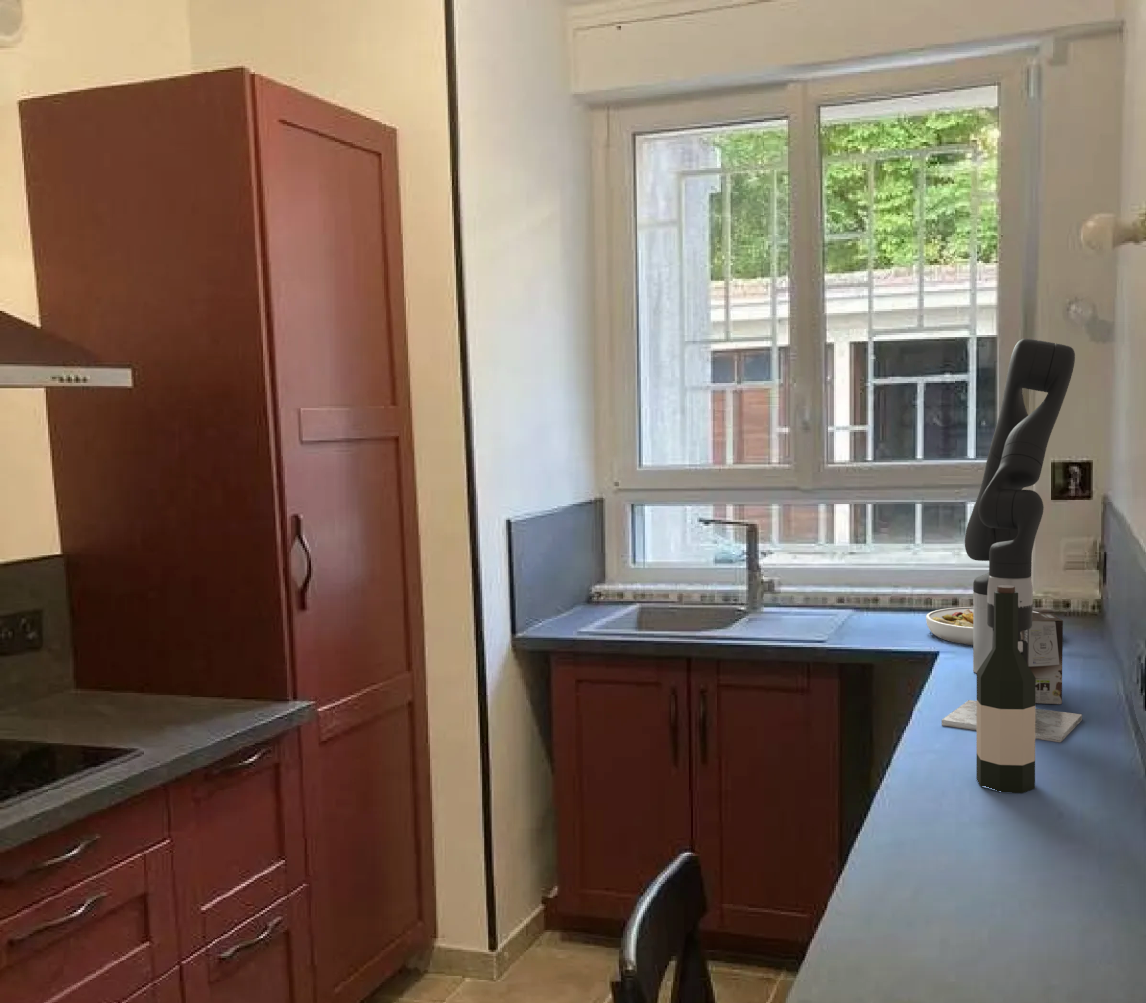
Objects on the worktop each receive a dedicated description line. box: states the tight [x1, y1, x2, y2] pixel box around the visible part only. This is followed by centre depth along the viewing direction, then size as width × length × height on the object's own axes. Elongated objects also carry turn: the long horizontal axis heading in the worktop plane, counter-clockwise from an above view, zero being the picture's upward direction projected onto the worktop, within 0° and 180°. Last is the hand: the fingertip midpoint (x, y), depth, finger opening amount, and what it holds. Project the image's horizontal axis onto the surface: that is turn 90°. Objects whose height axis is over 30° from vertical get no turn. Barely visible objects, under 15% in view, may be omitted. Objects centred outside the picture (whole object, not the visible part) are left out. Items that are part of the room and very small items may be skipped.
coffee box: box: [1020, 612, 1064, 705], centre depth 214 cm, size 9×6×16 cm
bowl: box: [925, 606, 1040, 646], centre depth 273 cm, size 30×30×8 cm
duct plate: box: [941, 699, 1083, 743], centre depth 198 cm, size 16×20×6 cm
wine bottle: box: [976, 585, 1036, 794], centre depth 165 cm, size 8×8×30 cm
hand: (1008, 690), depth 198 cm, fingers open, 8 cm apart
